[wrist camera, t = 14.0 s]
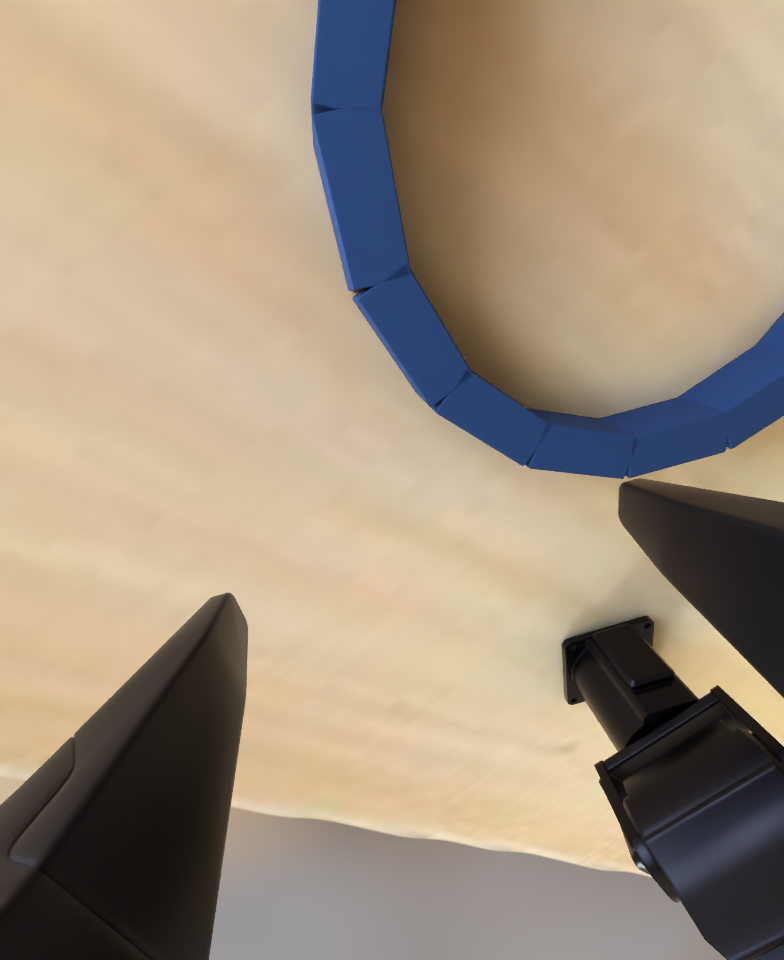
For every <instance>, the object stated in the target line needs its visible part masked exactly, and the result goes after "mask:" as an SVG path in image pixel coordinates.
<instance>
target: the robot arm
mask: <svg viewBox="0 0 784 960" xmlns="http://www.w3.org/2000/svg"><path fill="white" fill-rule="evenodd" d="M618 514H619V519H620V521H621V523H622V525H623V526H624V527H625V529H626V530H627V531H628V532H629V534H630V535H631V536H632V537H633V539H634V540H635V541H636V542H637V544H638V545H639V546H640V547H641V549H642V550H643V551H644V552H645V554H646V555H647V556H648V557H649V559H650V560H651V561H652V562H653V564H654V565H655V566H656V567H657V568H658V570H659V571H660V572H661V573H662V574H663V575H664V576H665V577H666V579H667V580H668V581H669V582H670V583H671V584H672V585H673V586H674V587H675V588H676V589H677V590H678V591H679V592H680V593H681V594H682V595H683V596H684V597H685V598H686V599H687V600H688V601H689V602H690V603H691V604H692V605H693V606H694V607H695V608H696V609H697V610H698V611H699V612H700V613H701V614H702V615H703V616H704V617H705V618H706V619H707V620H708V621H709V622H710V624H711V625H712V626H713V627H714V628H715V629H716V630H717V631H718V632H719V633H720V634H721V635H722V636H723V637H724V638H725V639H726V640H727V641H728V642H729V643H730V644H731V645H732V646H733V647H734V648H735V649H736V650H737V651H738V652H739V653H740V654H741V655H742V656H743V657H744V658H745V659H746V660H747V661H748V662H749V663H750V664H751V665H752V666H753V667H754V668H755V669H756V670H757V671H758V672H759V673H760V674H761V675H762V676H763V677H764V678H765V679H766V680H767V681H768V682H769V683H770V685H771V686H772V687H773V688H774V689H775V690H776V691H777V692H778V693H779V694H780V695H781V696H782V697H783V698H784V502H778V501H772V500H766V499H760V498H754V497H748V496H742V495H736V494H730V493H724V492H718V491H712V490H706V489H700V488H694V487H688V486H682V485H677V484H671V483H665V482H659V481H653V480H647V479H640V478H639V479H634V480H631V481H627V482H624V483H622V484H621V485H620V487H619V507H618ZM653 633H654V621H653V620H652V619H651V618H650V617H649V616H643V617H639V618H636V619H633V620H629V621H626V622H622V623H619V624H616V625H612V626H609V627H605V628H602V629H599V630H595V631H592V632H588V633H585V634H582V635H578V636H575V637H571V638H568V639H566V640H565V641H564V642H563V643H562V656H563V674H564V692H565V699H566V701H567V702H568V704H570V705H574V704H577V703H581V702H584V701H586V703H587V704H588V706H589V707H590V709H591V711H592V712H593V714H594V715H595V717H596V718H597V720H598V721H599V723H600V724H601V726H602V728H603V729H604V731H605V732H606V734H607V735H608V737H609V738H610V740H611V742H612V743H613V745H614V746H615V748H616V749H617V751H618V752H617V753H616V754H614V755H612V756H611V757H609V758H608V759H606V760H605V761H602V760H601V761H600V762H598V763H597V764H595V765H594V766H595V768H596V770H597V772H598V774H599V776H600V780H599V783H600V785H601V787H602V788H603V790H604V792H605V794H606V796H607V798H608V800H609V802H610V804H611V806H612V809H613V811H614V813H615V815H616V817H617V819H618V821H619V823H620V826H621V829H622V832H623V834H624V837H625V840H626V843H627V846H628V849H629V852H630V854H631V857H632V859H633V861H634V863H635V864H636V866H637V867H638V868H639V869H640V870H641V871H644V872H646V873H648V874H650V875H651V876H652V877H653V879H654V880H655V881H656V882H657V883H658V884H659V885H660V887H661V888H662V889H663V891H664V892H665V893H666V894H667V895H668V896H669V897H670V898H671V899H672V900H673V901H674V902H679V901H681V902H682V904H683V905H684V907H685V909H686V910H687V912H688V913H689V915H690V916H691V918H692V920H693V921H694V923H695V924H696V926H697V927H698V929H699V931H700V932H701V934H702V936H703V937H704V939H705V940H706V941H707V942H708V943H709V944H710V945H711V946H713V947H714V948H715V949H716V950H717V951H718V952H719V953H720V954H722V955H723V956H724V957H725V958H726V959H727V960H784V747H783V746H782V745H781V744H780V743H779V742H778V741H777V740H776V739H775V738H774V737H773V736H772V735H771V734H770V733H768V732H767V731H766V730H765V729H764V728H763V727H762V726H761V725H760V724H759V723H758V722H757V721H756V720H755V719H753V718H752V717H751V716H750V715H749V714H748V713H747V712H746V711H745V710H744V709H743V708H742V707H741V706H740V705H739V704H737V703H736V702H735V701H734V700H733V699H732V698H731V697H730V696H729V695H728V694H727V693H726V692H725V691H724V690H722V689H721V688H720V687H719V686H718V685H717V686H716V687H714V688H713V689H711V690H710V691H711V692H710V693H709V694H707V695H705V696H704V697H702V698H701V699H698V698H697V697H696V695H695V694H694V693H693V692H692V691H691V690H690V689H689V688H688V687H687V686H686V685H685V684H684V683H683V681H682V680H681V679H680V678H679V677H678V676H677V675H676V674H675V672H674V670H673V669H672V668H671V667H670V666H669V665H668V664H667V663H666V662H665V661H664V660H663V659H662V657H661V656H660V655H659V654H658V653H657V652H656V651H655V650H654V649H653V648H652V646H653ZM247 647H248V626H247V622H246V619H245V617H244V615H243V613H242V611H241V609H240V607H239V605H238V603H237V601H236V599H235V597H234V596H233V595H232V594H231V593H225V594H221V595H218V596H214V597H212V598H210V599H209V600H208V601H207V602H206V603H205V604H204V605H203V606H202V607H201V608H200V609H199V610H198V611H197V612H196V613H195V614H194V615H193V616H192V617H191V618H190V619H189V620H188V621H187V622H186V623H185V624H184V625H183V626H182V627H181V628H180V629H179V630H178V631H177V632H176V633H175V634H174V635H173V636H172V637H171V638H170V639H169V640H168V641H167V642H166V643H165V644H164V645H163V646H162V647H161V648H160V649H159V650H158V651H157V652H156V653H155V654H154V655H153V656H152V657H151V658H150V659H149V660H148V661H147V662H146V663H145V664H144V665H143V666H142V667H141V668H140V669H139V670H138V671H137V672H136V673H135V674H134V675H133V676H132V677H131V678H130V679H129V680H128V681H127V682H126V683H125V684H124V685H123V686H122V687H121V688H120V689H119V690H118V691H117V692H116V693H115V694H114V695H113V696H112V697H111V698H110V699H109V700H108V701H107V702H106V703H105V704H104V705H103V706H102V707H101V708H100V709H99V710H98V711H97V712H96V713H95V714H94V715H93V716H92V717H91V718H90V719H89V720H88V721H87V722H86V723H85V724H84V725H83V726H82V727H81V728H80V729H79V730H78V731H77V732H76V733H75V734H74V737H71V738H69V739H68V740H67V741H66V742H65V743H64V744H63V745H62V746H61V747H60V748H59V749H58V750H57V751H56V752H55V753H54V754H53V755H52V756H51V757H50V758H49V759H48V760H47V761H46V762H45V763H44V764H43V765H42V766H41V767H40V768H39V769H38V770H37V771H36V772H35V773H34V774H33V775H32V776H31V777H30V778H29V779H28V780H27V781H26V782H25V783H24V784H23V785H22V786H21V787H20V788H19V789H18V790H16V791H15V792H14V793H13V794H12V795H11V796H10V797H9V798H8V799H7V800H6V801H4V802H3V803H2V804H1V805H0V960H209V954H210V947H211V940H212V933H213V926H214V919H215V912H216V905H217V898H218V890H219V883H220V877H221V869H222V863H223V856H224V849H225V841H226V834H227V827H228V820H229V813H230V806H231V799H232V792H233V785H234V778H235V771H236V764H237V757H238V750H239V743H240V736H241V729H242V722H243V715H244V708H245V699H246V685H247Z"/></svg>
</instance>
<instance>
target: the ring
mask: <svg viewBox="0 0 784 960" xmlns="http://www.w3.org/2000/svg"><path fill="white" fill-rule="evenodd" d="M395 5H396V0H318V13H317V26H316V39H315V52H314V65H313V78H312V91H311V110H312V129H313V144H314V150H315V154H316V158H317V162H318V166H319V171H320V175H321V179H322V183H323V187H324V191H325V195H326V199H327V204H328V208H329V212H330V216H331V220H332V224H333V228H334V232H335V237H336V241H337V245H338V249H339V253H340V257H341V261H342V265H343V270H344V274H345V278H346V282H347V286H348V290H349V291H355V290H359V289H363V288H364V289H363V290H362V291H360V292H359V293H358V294H357V295H355V296H354V297H353V301H354V302H355V303H356V305H357V306H358V308H359V309H360V311H361V312H362V314H363V315H364V317H365V318H366V320H367V321H368V323H369V324H370V325H371V327H372V328H373V330H374V331H375V333H376V334H377V336H378V337H379V339H380V340H381V342H382V343H383V345H384V346H385V347H386V349H387V350H388V352H389V353H390V355H391V356H392V358H393V359H394V361H395V362H396V364H397V365H398V367H399V368H400V370H401V371H402V372H403V374H404V375H405V377H406V378H407V380H408V381H409V383H410V384H411V386H412V387H413V389H414V390H415V392H416V393H417V394H418V395H419V396H420V397H421V398H422V399H423V400H424V401H425V402H426V403H427V404H428V405H429V406H430V407H431V408H432V409H433V410H434V411H435V412H436V413H437V414H439V415H440V416H442V417H444V418H445V419H447V420H448V421H450V422H452V423H453V424H455V425H457V426H458V427H460V428H461V429H463V430H465V431H466V432H468V433H470V434H471V435H473V436H475V437H476V438H478V439H479V440H481V441H483V442H484V443H486V444H488V445H489V446H491V447H492V448H494V449H496V450H497V451H499V452H501V453H502V454H504V455H505V456H507V457H509V458H510V459H512V460H514V461H515V462H517V463H518V464H520V465H522V466H524V465H526V466H528V467H529V468H530V469H539V470H548V471H557V472H566V473H575V474H584V475H593V476H602V477H611V478H620V479H623V478H624V476H627V477H628V478H632V477H636V476H639V475H643V474H647V473H650V472H654V471H657V470H661V469H665V468H668V467H672V466H676V465H679V464H683V463H686V462H690V461H694V460H697V459H701V458H704V457H708V456H712V455H715V454H719V453H723V452H725V450H726V447H728V448H730V449H732V448H734V447H736V446H737V445H739V444H740V443H742V442H743V441H745V440H746V439H748V438H750V437H751V436H753V435H754V434H756V433H757V432H759V431H760V430H762V429H764V428H765V427H767V426H768V425H770V424H771V423H773V422H775V421H776V420H778V419H779V418H781V417H782V416H784V313H783V314H782V316H781V317H780V318H779V319H778V320H777V321H776V323H775V324H774V325H773V326H772V327H771V328H770V329H769V331H768V332H767V333H766V334H765V335H764V336H763V338H762V339H761V340H760V341H759V342H758V343H757V345H755V346H754V347H752V348H751V349H749V350H748V351H746V352H745V353H744V354H742V355H741V356H739V357H738V358H736V359H735V360H733V361H732V362H730V363H729V364H727V365H726V366H724V367H723V368H721V369H720V370H718V371H717V372H715V373H714V374H712V375H711V376H709V377H708V378H706V379H705V380H703V381H702V382H700V383H699V384H697V385H696V386H694V387H693V388H691V389H690V390H688V391H687V392H685V393H684V394H682V395H681V396H679V397H678V398H675V399H671V400H667V401H664V402H660V403H656V404H652V405H649V406H645V407H641V408H637V409H634V410H630V411H626V412H623V413H619V414H615V415H611V416H608V417H604V418H600V419H597V418H590V417H583V416H576V415H569V414H562V413H555V412H548V411H542V410H535V409H528V408H525V407H524V406H522V405H521V404H519V403H518V402H517V401H515V400H514V399H512V398H511V397H509V396H508V395H506V394H505V393H503V392H502V391H500V390H499V389H497V388H496V387H495V386H493V385H492V384H490V383H489V382H487V381H486V380H484V379H483V378H481V377H480V376H478V375H477V374H475V373H474V372H473V371H471V370H470V368H469V366H468V365H467V363H466V361H465V360H464V358H463V356H462V355H461V353H460V351H459V350H458V348H457V346H456V345H455V343H454V341H453V340H452V338H451V336H450V335H449V333H448V331H447V330H446V328H445V326H444V324H443V323H442V321H441V319H440V318H439V316H438V314H437V313H436V311H435V309H434V308H433V306H432V304H431V303H430V301H429V299H428V298H427V296H426V294H425V293H424V291H423V289H422V288H421V286H420V284H419V283H418V281H417V279H416V278H415V276H414V274H413V272H412V271H411V269H410V265H409V260H408V254H407V248H406V243H405V237H404V232H403V226H402V220H401V215H400V209H399V204H398V198H397V193H396V187H395V181H394V176H393V170H392V165H391V159H390V153H389V148H388V142H387V137H386V131H385V125H384V120H383V114H382V106H383V98H384V90H385V83H386V75H387V67H388V59H389V52H390V44H391V36H392V29H393V21H394V13H395Z"/></svg>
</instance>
